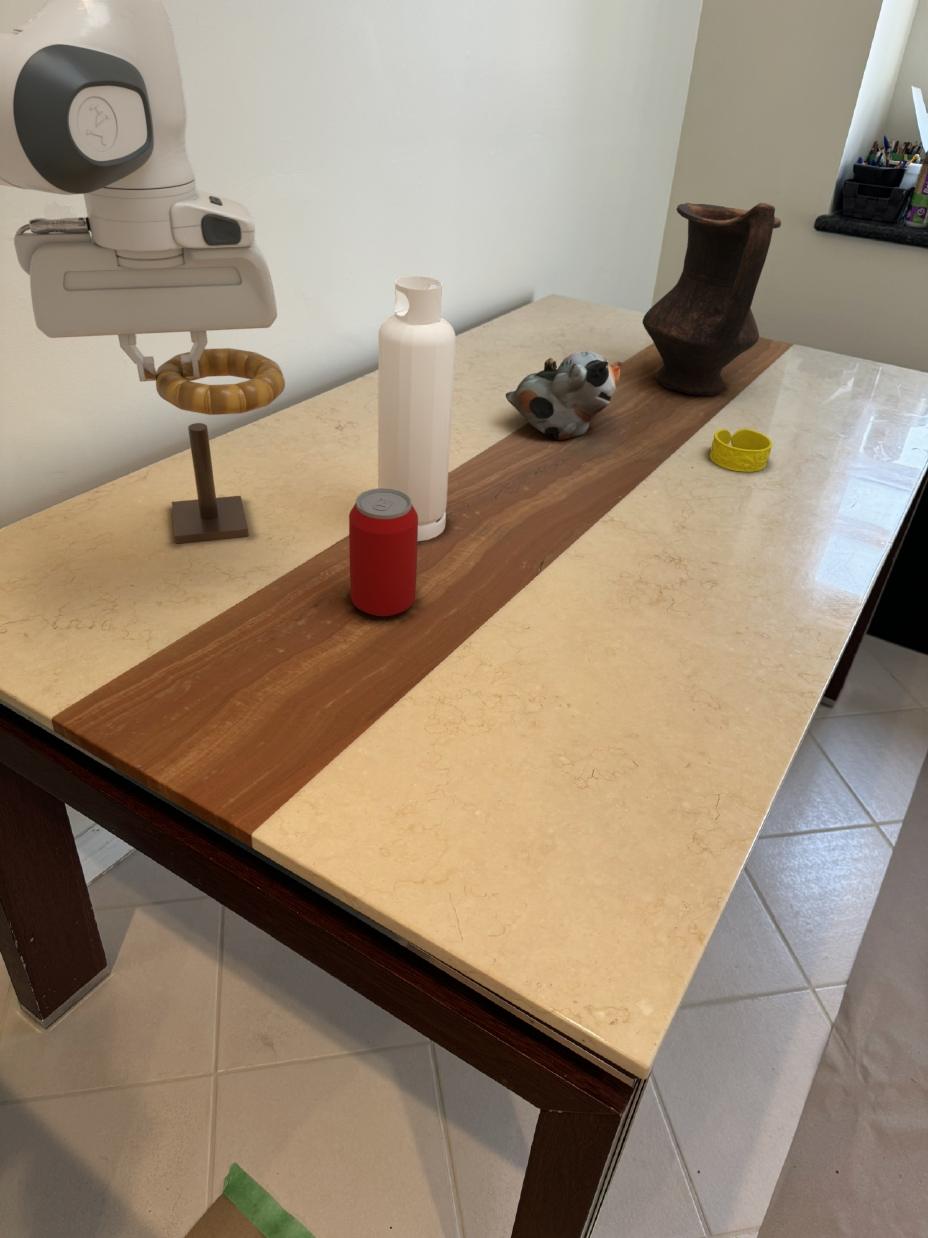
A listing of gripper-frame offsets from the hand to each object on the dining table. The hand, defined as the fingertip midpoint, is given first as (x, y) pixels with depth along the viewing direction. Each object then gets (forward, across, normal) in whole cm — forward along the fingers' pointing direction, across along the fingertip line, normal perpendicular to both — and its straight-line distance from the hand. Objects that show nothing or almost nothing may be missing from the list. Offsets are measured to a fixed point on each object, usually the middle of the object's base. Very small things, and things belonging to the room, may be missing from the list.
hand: (170, 377), depth 81 cm
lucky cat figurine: (+23, +53, +30) cm, 65 cm away
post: (+22, +2, +10) cm, 24 cm away
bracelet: (+23, +74, +14) cm, 79 cm away
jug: (+23, +81, +41) cm, 94 cm away
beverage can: (+22, +18, -9) cm, 30 cm away
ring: (0, +4, 0) cm, 5 cm away
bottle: (+22, +25, +6) cm, 34 cm away
